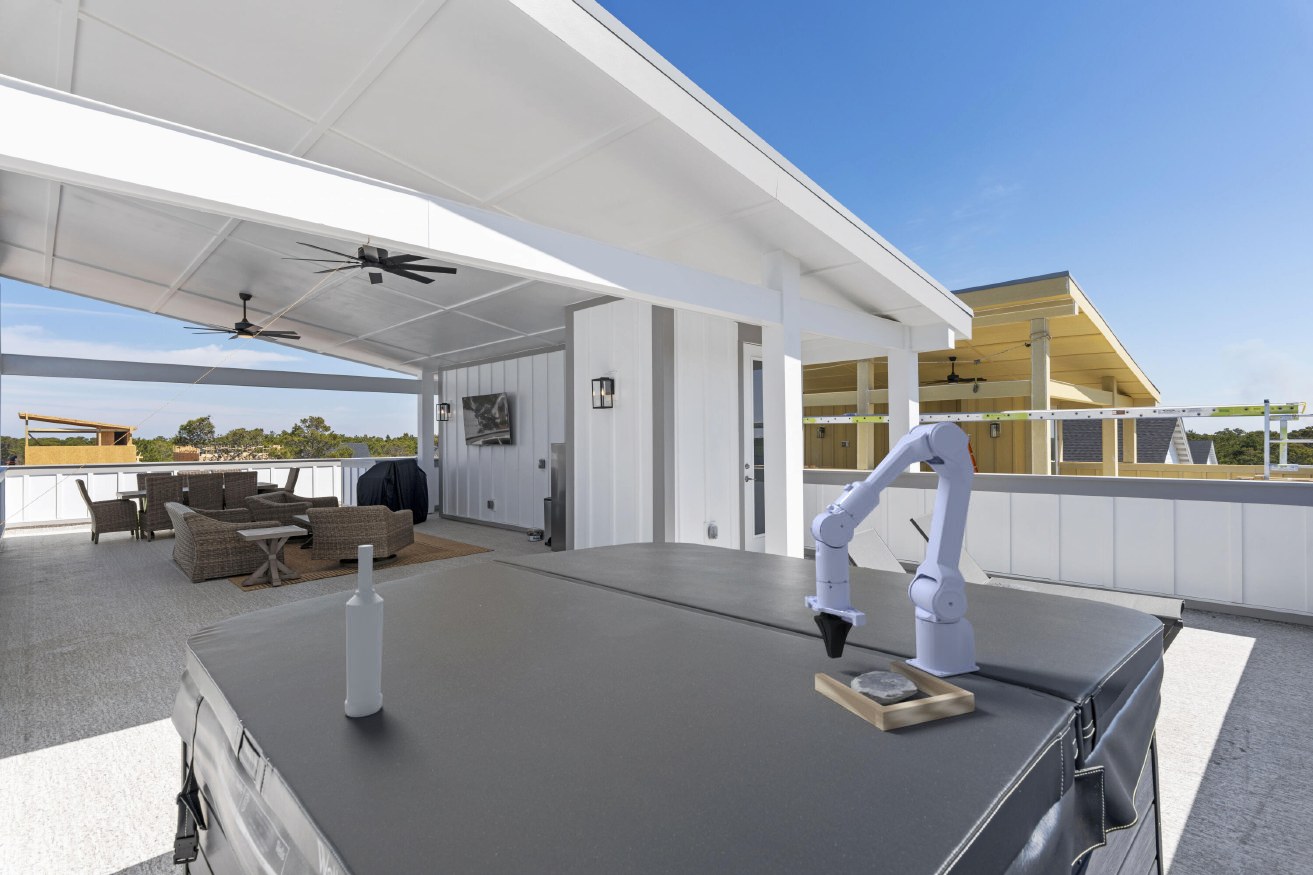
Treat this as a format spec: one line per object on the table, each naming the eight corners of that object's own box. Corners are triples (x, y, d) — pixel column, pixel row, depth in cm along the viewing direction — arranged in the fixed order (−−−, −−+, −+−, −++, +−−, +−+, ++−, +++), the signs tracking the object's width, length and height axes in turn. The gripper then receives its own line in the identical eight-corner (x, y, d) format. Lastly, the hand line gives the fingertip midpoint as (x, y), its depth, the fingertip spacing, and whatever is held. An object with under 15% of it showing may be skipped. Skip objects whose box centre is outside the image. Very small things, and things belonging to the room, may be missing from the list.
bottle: (390, 705, 89) (391, 544, 90) (363, 719, 84) (365, 548, 85) (364, 701, 91) (366, 542, 92) (336, 715, 86) (338, 547, 87)
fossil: (858, 662, 98) (919, 661, 93) (864, 686, 98) (926, 686, 93) (840, 692, 89) (907, 692, 83) (847, 718, 88) (915, 720, 83)
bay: (897, 675, 100) (896, 660, 100) (974, 710, 85) (974, 693, 85) (815, 689, 94) (814, 674, 94) (883, 730, 79) (882, 712, 79)
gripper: (790, 574, 108) (792, 647, 108) (840, 590, 95) (842, 673, 94) (821, 571, 111) (823, 642, 110) (874, 586, 97) (877, 667, 97)
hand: (834, 656), depth 102 cm, fingers closed
